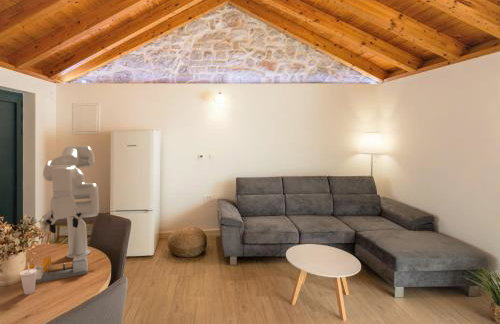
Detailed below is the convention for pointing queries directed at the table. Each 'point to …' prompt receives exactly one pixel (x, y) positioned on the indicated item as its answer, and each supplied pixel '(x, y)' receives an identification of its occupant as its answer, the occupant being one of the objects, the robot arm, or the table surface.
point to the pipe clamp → (45, 264)
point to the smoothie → (28, 280)
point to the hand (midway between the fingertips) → (64, 229)
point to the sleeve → (79, 264)
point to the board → (59, 275)
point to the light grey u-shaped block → (39, 271)
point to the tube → (60, 267)
